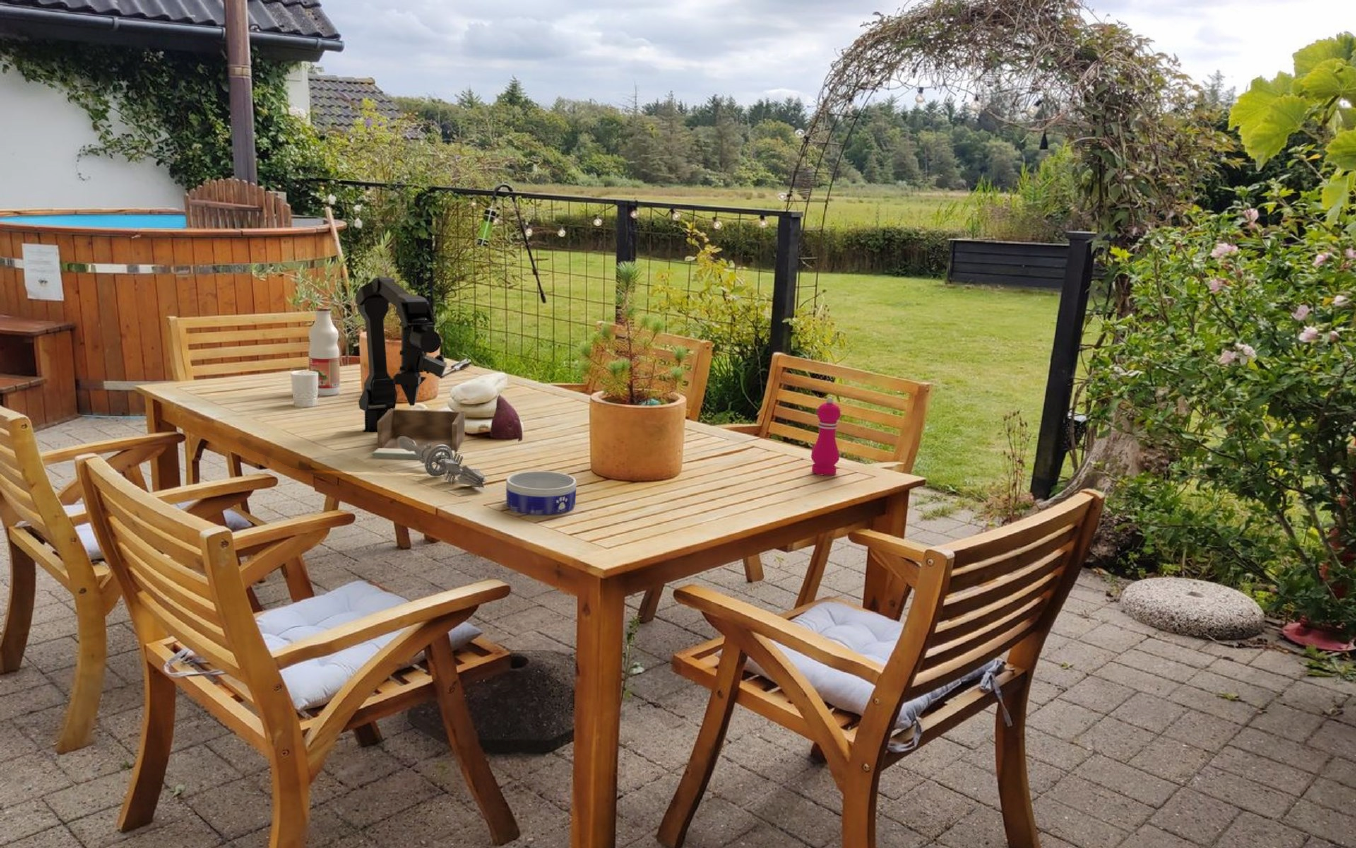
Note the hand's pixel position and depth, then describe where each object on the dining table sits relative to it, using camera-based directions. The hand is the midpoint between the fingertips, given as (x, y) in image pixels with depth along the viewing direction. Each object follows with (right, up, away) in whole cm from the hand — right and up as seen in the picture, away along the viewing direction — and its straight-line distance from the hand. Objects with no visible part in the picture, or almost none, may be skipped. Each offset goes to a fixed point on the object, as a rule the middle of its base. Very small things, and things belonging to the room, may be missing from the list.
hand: (412, 405), depth 268 cm
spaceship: (+12, -18, -23) cm, 31 cm away
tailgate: (+2, -12, -4) cm, 13 cm away
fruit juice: (-45, +5, +66) cm, 80 cm away
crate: (+1, -11, +5) cm, 12 cm away
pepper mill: (+107, -18, -1) cm, 109 cm away
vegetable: (+21, -9, +18) cm, 30 cm away
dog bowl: (+39, -23, -41) cm, 61 cm away
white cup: (-45, +1, +47) cm, 65 cm away
